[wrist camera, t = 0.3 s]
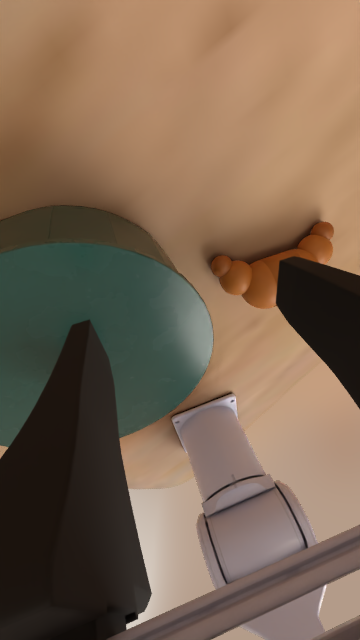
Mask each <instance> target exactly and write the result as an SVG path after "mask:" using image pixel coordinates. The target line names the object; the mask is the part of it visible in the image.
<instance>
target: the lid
mask: <svg viewBox="0 0 360 640" xmlns="http://www.w3.org/2000/svg"><path fill="white" fill-rule="evenodd" d="M89 319H90V321H91V323H92V325H93V327H94V329H95V331H96V333H97V335H98V337H99V339H100V341H101V343H102V345H103V347H104V349H105V351H106V353H107V356H108V358H109V361H110V366H111V370H112V375H113V380H114V386H115V397H116V408H117V419H118V430H119V438H121V437H124V436H126V435H129V434H131V433H134V432H136V431H138V430H141V429H143V428H144V427H146V426H148V425H150V424H152V423H154V422H156V421H157V420H159V419H160V418H162V417H164V416H165V415H166V414H168V413H169V412H171V411H172V410H173V409H174V408H176V407H177V406H178V405H179V404H180V403H181V402H183V401H184V399H185V398H186V397H187V396H188V395H189V394H190V393H191V392H192V391H193V390H194V388H195V387H196V386H197V384H198V383H199V381H200V380H201V378H202V376H203V375H204V373H205V371H206V369H207V366H208V364H209V361H210V358H211V354H212V349H213V340H214V339H213V326H212V322H211V318H210V314H209V312H208V310H207V308H206V305H205V303H204V301H203V300H202V298H201V297H200V295H199V294H198V292H197V291H196V289H195V288H194V287H193V286H192V284H191V283H190V282H189V281H188V280H187V279H186V278H185V277H184V276H183V275H182V274H180V273H179V272H178V271H176V270H175V269H174V268H173V267H171V266H170V265H168V264H167V263H165V262H163V261H161V260H160V259H158V258H156V257H154V256H152V255H150V254H147V253H145V252H142V251H140V250H137V249H135V248H132V247H128V246H124V245H120V244H116V243H112V242H107V241H99V240H92V239H68V238H58V239H49V240H40V241H31V242H27V243H23V244H19V245H14V246H10V247H6V248H3V249H0V445H1V446H6V447H9V446H10V445H11V443H12V442H13V440H14V439H15V437H16V436H17V434H18V433H19V431H20V430H21V428H22V426H23V425H24V423H25V422H26V420H27V418H28V417H29V415H30V413H31V412H32V410H33V408H34V406H35V405H36V403H37V401H38V399H39V397H40V395H41V393H42V391H43V389H44V387H45V385H46V383H47V381H48V379H49V377H50V375H51V373H52V371H53V369H54V366H55V364H56V362H57V360H58V357H59V355H60V353H61V350H62V348H63V345H64V343H65V340H66V338H67V335H68V333H69V330H70V328H71V326H72V325H73V324H76V323H80V322H83V321H86V320H89Z"/></svg>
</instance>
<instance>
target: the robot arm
mask: <svg viewBox="0 0 360 640" xmlns="http://www.w3.org/2000/svg"><path fill="white" fill-rule="evenodd" d="M276 305H277V306H278V308H279V309H280V311H281V312H282V314H283V315H284V317H285V318H286V320H287V321H288V323H289V324H290V325H291V326H292V327H293V328H294V329H295V331H296V332H297V333H298V334H299V335H300V336H301V337H302V338H303V339H304V340H305V342H306V343H307V344H308V345H309V346H310V347H311V348H312V349H313V350H314V351H315V352H316V354H317V355H318V356H319V357H320V358H321V359H322V360H323V361H324V362H325V363H326V364H327V366H328V367H329V368H330V369H331V370H332V372H333V373H334V374H335V375H336V377H337V378H338V379H339V381H340V382H341V383H342V385H343V386H344V388H345V389H346V390H347V391H348V393H349V394H350V396H351V397H352V399H353V400H354V402H355V403H356V404H357V406H358V407H359V409H360V276H359V275H356V274H353V273H349V272H346V271H343V270H340V269H337V268H333V267H330V266H327V265H324V264H321V263H318V262H315V261H311V260H308V259H305V258H301V257H296V256H292V257H289V258H286V259H283V260H280V261H279V270H278V281H277V292H276ZM172 422H173V424H174V427H175V429H176V432H177V434H178V436H179V439H180V441H181V444H182V446H183V449H184V451H185V452H186V453H187V454H188V457H189V460H190V463H191V466H192V469H193V472H194V476H195V478H196V482H197V485H198V488H199V491H200V494H201V497H202V500H203V503H202V507H203V510H204V513H205V514H204V513H202V514H200V515H199V516H198V520H197V523H196V528H197V533H198V538H199V542H200V545H201V549H202V552H203V555H204V559H205V562H206V565H207V568H208V571H209V574H210V577H211V579H212V582H213V584H214V587H215V589H216V590H214V591H212V592H210V593H207V594H205V595H203V596H201V597H199V598H196V599H194V600H192V601H190V602H187V603H185V604H183V605H181V606H179V607H177V608H174V609H172V610H170V611H168V612H165V613H163V614H161V615H159V616H156V617H155V618H152V619H150V620H148V621H146V622H143V623H141V624H139V625H137V626H135V627H132V628H130V629H128V630H126V624H128V623H130V622H132V621H134V620H136V619H138V614H140V613H142V612H144V611H145V609H146V607H147V605H148V602H149V600H150V597H151V594H152V593H151V589H150V585H149V581H148V577H147V572H146V568H145V564H144V559H143V555H142V551H141V547H140V542H139V538H138V533H137V529H136V524H135V520H134V515H133V510H132V506H131V501H130V496H129V491H128V486H127V481H126V476H125V471H124V466H123V460H122V455H121V448H120V441H119V430H118V419H117V408H116V397H115V386H114V380H113V375H112V370H111V366H110V361H109V358H108V356H107V353H106V351H105V349H104V347H103V345H102V343H101V341H100V339H99V337H98V335H97V333H96V331H95V329H94V327H93V325H92V323H91V321H90V319H89V320H86V321H83V322H80V323H76V324H73V325H72V326H71V328H70V330H69V333H68V335H67V338H66V340H65V343H64V345H63V348H62V350H61V353H60V355H59V357H58V360H57V362H56V364H55V366H54V369H53V371H52V373H51V375H50V377H49V379H48V381H47V383H46V385H45V387H44V389H43V391H42V393H41V395H40V397H39V399H38V401H37V403H36V405H35V406H34V408H33V410H32V412H31V413H30V415H29V417H28V418H27V420H26V422H25V423H24V425H23V426H22V428H21V430H20V431H19V433H18V434H17V436H16V437H15V439H14V440H13V442H12V443H11V445H10V446H9V447H8V449H7V450H6V452H5V453H4V454H3V456H2V457H1V459H0V640H211V639H213V638H215V637H217V636H220V635H222V634H224V633H226V632H228V631H230V630H232V629H234V628H236V627H241V628H243V629H245V630H247V631H249V632H251V633H253V634H255V635H257V636H259V637H261V638H263V639H265V640H360V615H359V616H357V617H355V618H353V619H351V620H349V621H347V622H345V623H343V624H340V625H338V626H336V627H334V628H332V629H330V630H328V631H326V632H325V630H324V628H323V626H322V624H321V621H320V619H319V611H320V607H321V604H322V600H323V597H324V593H325V590H326V586H327V584H329V583H331V582H334V581H336V580H338V579H340V578H342V577H344V576H346V575H348V574H350V573H352V572H355V571H357V570H359V569H360V525H358V526H356V527H354V528H351V529H349V530H347V531H345V532H342V533H340V534H338V535H336V536H334V537H331V538H329V539H327V540H325V541H322V542H320V543H318V542H317V540H316V537H315V534H314V532H313V529H312V526H311V524H310V522H309V520H308V518H307V516H306V514H305V512H304V510H303V508H302V506H301V504H300V503H299V501H298V499H297V498H296V496H295V494H294V493H293V492H292V490H291V489H290V488H289V487H288V486H287V485H286V484H284V483H282V482H281V481H279V480H277V481H275V482H273V480H272V478H271V476H270V474H267V475H266V474H265V472H264V470H263V468H262V466H261V464H260V462H259V460H258V458H257V456H256V454H255V452H254V450H253V448H252V446H251V444H250V442H249V440H248V438H247V436H246V434H245V432H244V430H243V428H242V426H241V425H240V423H239V421H238V416H237V406H236V397H235V395H234V394H230V395H227V396H224V397H222V398H219V399H217V400H214V401H211V402H209V403H206V404H204V405H201V406H198V407H196V408H193V409H191V410H188V411H185V412H183V413H180V414H178V415H175V416H173V417H172Z"/></svg>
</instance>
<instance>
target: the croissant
mask: <svg viewBox="0 0 360 640" xmlns="http://www.w3.org/2000/svg"><path fill="white" fill-rule="evenodd" d="M333 234H334V229H333V226H332V225H331V224H330V223H328V222H320V223H317V224H316V225H315V226H314V227H313V228H312V230H311V235H309V236H307V237H305V238H304V239H303V240H301V242H300V243H299V244H298V246H297V249H292V250H287V251H284V252H282V253H279V254H276V255H273V256H270V257H267V258H264V259H261V260H258V261H256V262H253V263H252V264H250V265H248V264H247V263H245V262H243V261H231V259H230V258H229V257H227V256H224V255H220V256H217V257H216V258H215V259H214V260H213V261H212V264H211V269H212V272H213V273H214V274H215V275H216V276H218V277H220V284H221V286H222V288H223V289H224V290H225V291H226V292H227V293H229V294H232V295H241V294H242V296H243V298H244V299H245V300H246V302H247V303H249V304H250V305H252V306H254V307H257V308H261V309H265V308H272V307H275V306H277V305H276V292H277V281H278V270H279V261H280V260H283V259H286V258H289V257H292V256H296V257H301V258H305V259H308V260H311V261H315V262H318V263H321V264H326V263H327V262H328V261H329V260H330V258H331V256H332V252H333V247H332V244H331V242H330V239H331V238H332V236H333Z"/></svg>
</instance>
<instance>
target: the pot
mask: <svg viewBox="0 0 360 640" xmlns="http://www.w3.org/2000/svg"><path fill="white" fill-rule="evenodd" d="M58 238H68V239H92V240H99V241H107V242H112V243H116V244H120V245H124V246H128V247H132V248H135V249H137V250H140V251H142V252H145V253H147V254H150V255H152V256H154V257H156V258H158V259H160V260H161V261H163V262H165V263H167V264H168V265H170V266H171V267H173V268H174V269H175V270H176V271H177V269H176V268H175V266H174V264H173V263H172V261H171V260H170V259H169V258H168V256H167V255H166V254H165V253H164V251H163V250H162V249H161V247H160V246H159V245H158V244H157V243H156V242H155V240H154V239H153V238H152V237H151V235H150V234H148V233H147V232H146V231H144V230H142V229H141V228H139V227H138V226H136V225H134V224H133V223H131V222H130V221H128V220H126V219H124V218H121V217H119V216H117V215H115V214H112V213H109V212H106V211H102V210H99V209H94V208H88V207H82V206H63V205H62V206H50V207H42V208H38V209H33V210H29V211H26V212H23V213H20V214H17V215H15V216H12V217H10V218H8V219H5V220H2V221H0V249H3V248H6V247H10V246H14V245H19V244H23V243H27V242H31V241H40V240H49V239H58Z"/></svg>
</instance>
